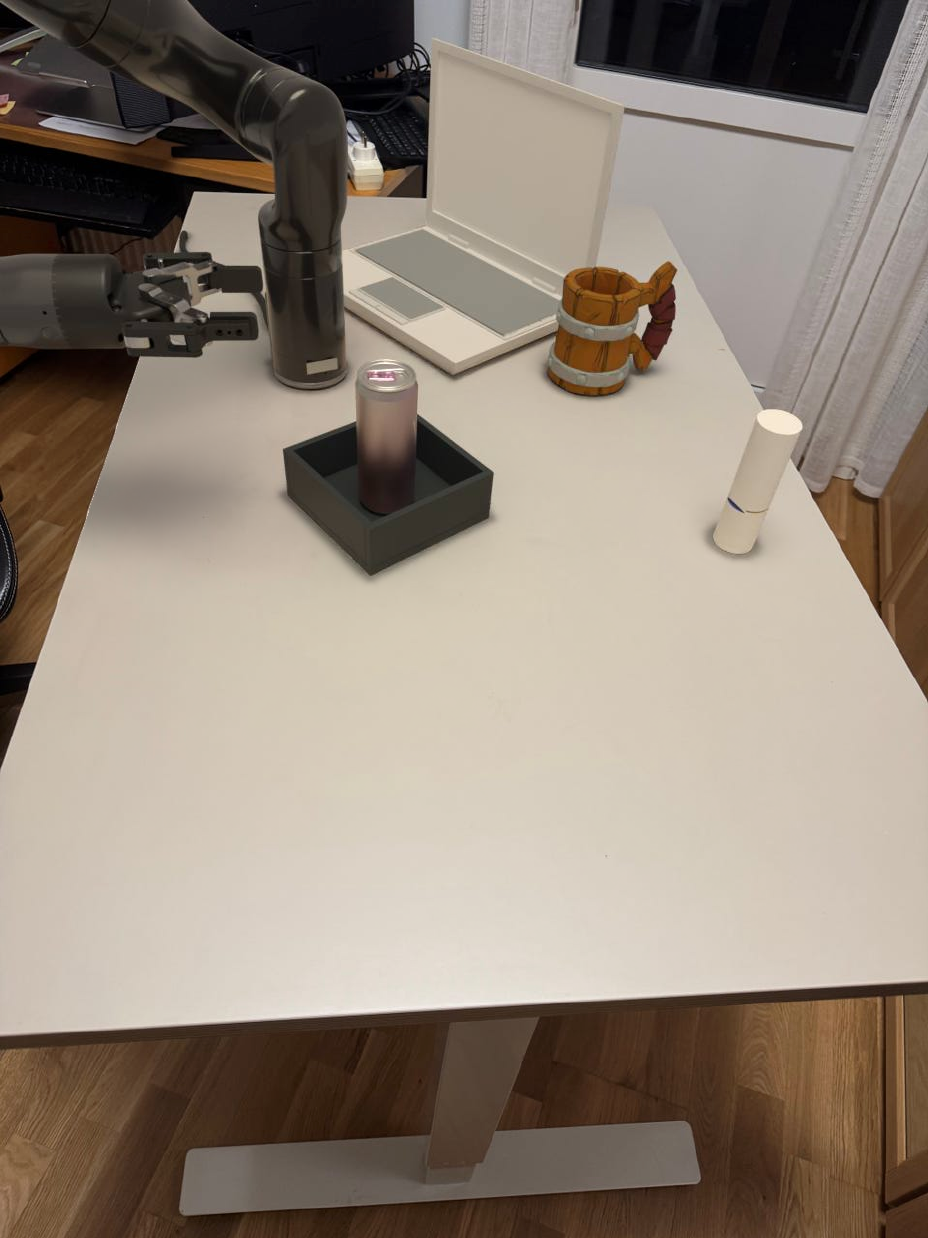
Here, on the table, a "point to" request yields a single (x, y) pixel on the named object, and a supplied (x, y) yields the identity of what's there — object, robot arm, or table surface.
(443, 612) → the table surface
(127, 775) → the table surface
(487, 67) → the laptop
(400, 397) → the beverage can
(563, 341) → the mug
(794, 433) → the tube
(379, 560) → the bin
